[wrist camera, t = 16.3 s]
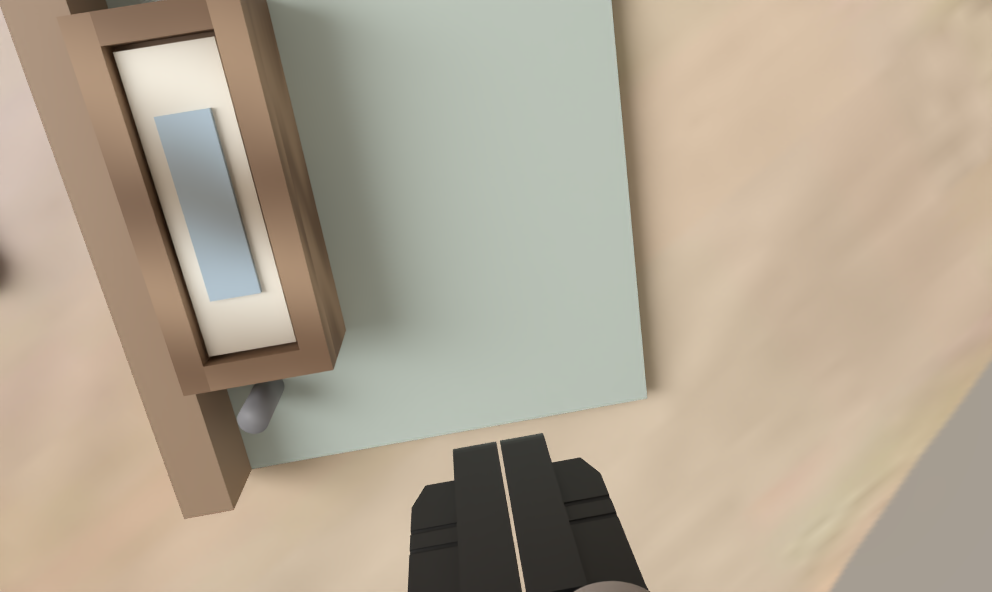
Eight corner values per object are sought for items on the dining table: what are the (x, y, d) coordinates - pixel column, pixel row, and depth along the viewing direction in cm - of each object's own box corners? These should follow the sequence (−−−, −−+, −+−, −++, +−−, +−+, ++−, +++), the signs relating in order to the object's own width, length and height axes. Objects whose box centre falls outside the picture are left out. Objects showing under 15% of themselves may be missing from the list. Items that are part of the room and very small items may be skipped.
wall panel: (641, 388, 33) (668, 431, 29) (213, 464, 32) (184, 518, 28) (585, -214, 25) (612, -263, 21) (16, -129, 24) (-61, -164, 20)
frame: (346, 330, 29) (333, 370, 26) (215, 352, 29) (183, 396, 26) (266, -1, 25) (236, -12, 21) (113, 23, 25) (55, 17, 21)
